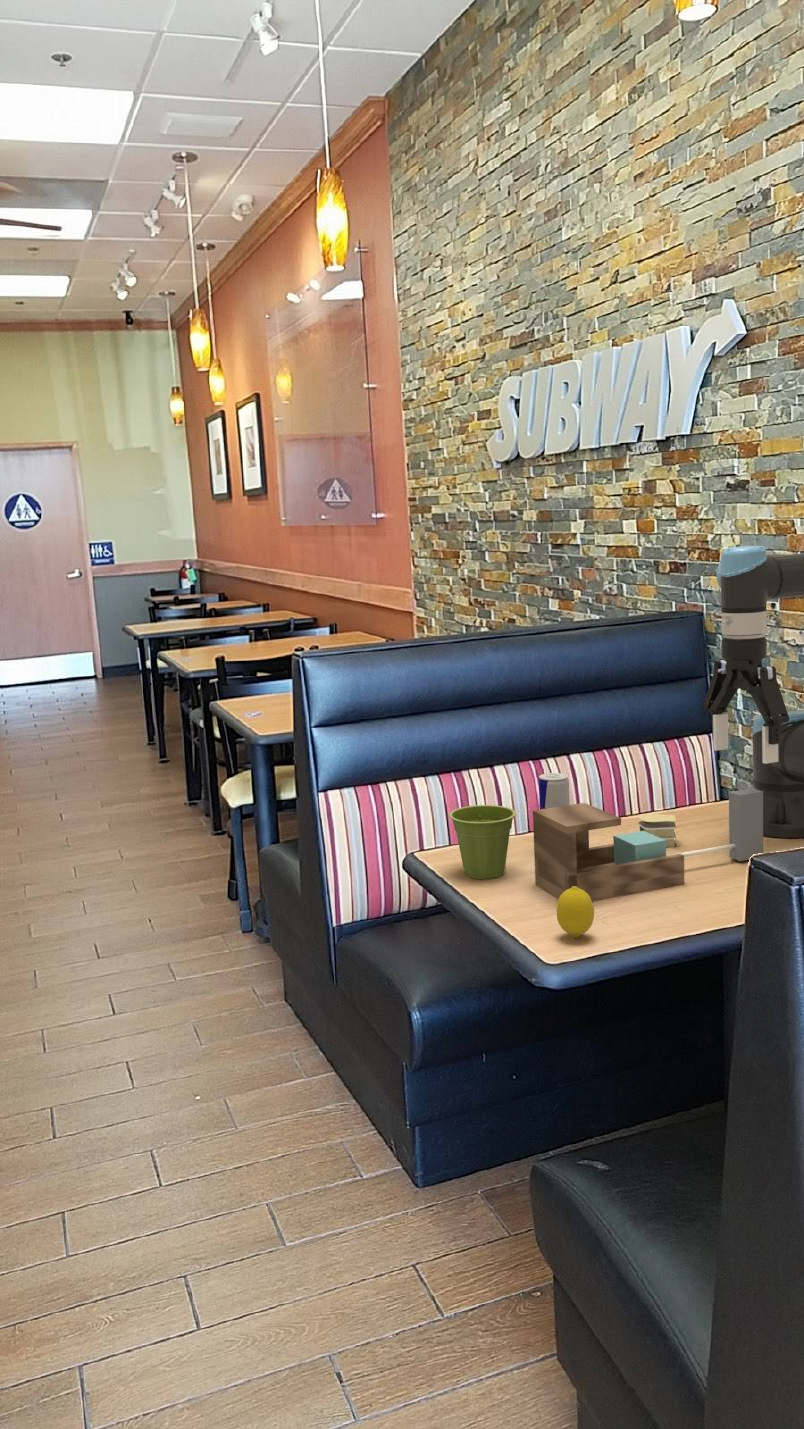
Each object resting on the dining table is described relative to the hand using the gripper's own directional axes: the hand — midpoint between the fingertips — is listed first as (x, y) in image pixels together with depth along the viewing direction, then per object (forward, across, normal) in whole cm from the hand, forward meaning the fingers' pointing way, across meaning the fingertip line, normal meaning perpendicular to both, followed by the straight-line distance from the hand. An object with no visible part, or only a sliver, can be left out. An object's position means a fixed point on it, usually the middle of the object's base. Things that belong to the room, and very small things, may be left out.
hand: (744, 755), depth 194 cm
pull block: (+18, 0, -11) cm, 22 cm away
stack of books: (+20, -16, -8) cm, 27 cm away
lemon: (+19, +19, -45) cm, 53 cm away
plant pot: (+19, -16, -44) cm, 51 cm away
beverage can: (+19, -21, -27) cm, 39 cm away
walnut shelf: (+19, 0, -28) cm, 34 cm away
